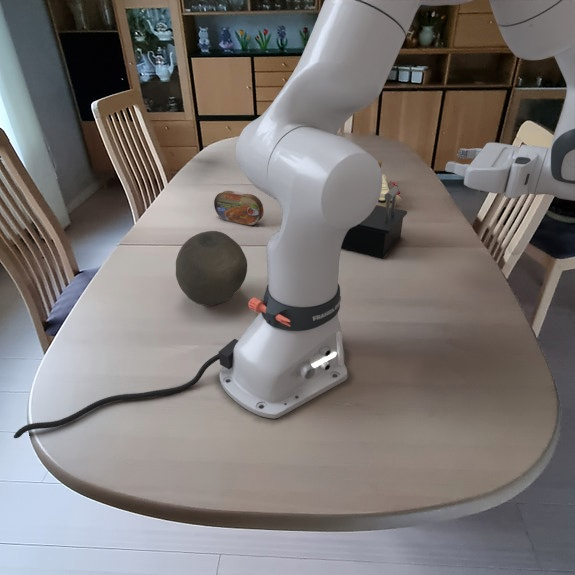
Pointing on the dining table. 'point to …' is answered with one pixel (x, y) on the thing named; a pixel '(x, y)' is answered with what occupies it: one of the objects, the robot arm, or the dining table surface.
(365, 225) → the bin lid
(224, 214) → the tin
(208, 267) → the dark brown ball
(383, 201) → the cat figure
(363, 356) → the dining table surface
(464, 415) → the dining table surface
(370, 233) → the bin
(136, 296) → the dining table surface
